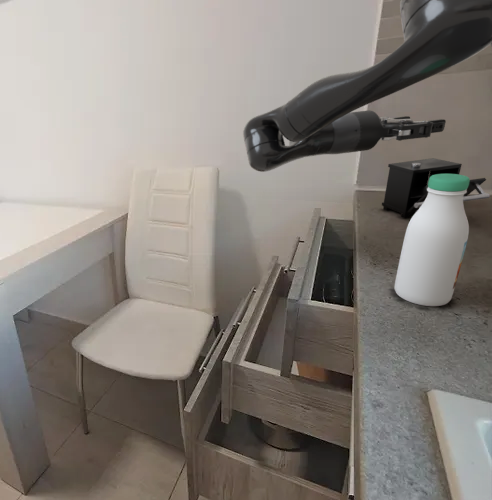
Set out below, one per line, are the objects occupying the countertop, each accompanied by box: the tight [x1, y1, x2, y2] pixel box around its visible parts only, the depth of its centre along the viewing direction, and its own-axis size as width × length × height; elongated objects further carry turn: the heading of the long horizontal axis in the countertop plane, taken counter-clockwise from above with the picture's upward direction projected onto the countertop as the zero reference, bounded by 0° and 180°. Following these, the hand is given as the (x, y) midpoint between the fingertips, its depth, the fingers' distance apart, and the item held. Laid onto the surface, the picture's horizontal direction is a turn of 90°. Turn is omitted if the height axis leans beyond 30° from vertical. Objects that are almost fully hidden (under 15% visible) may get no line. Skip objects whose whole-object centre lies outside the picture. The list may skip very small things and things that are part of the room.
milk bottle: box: [393, 173, 471, 307], centre depth 57 cm, size 8×8×20 cm
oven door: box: [408, 177, 491, 213], centre depth 84 cm, size 4×17×10 cm
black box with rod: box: [381, 157, 463, 219], centre depth 92 cm, size 8×12×13 cm
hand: (424, 123), depth 72 cm, fingers open, 8 cm apart
